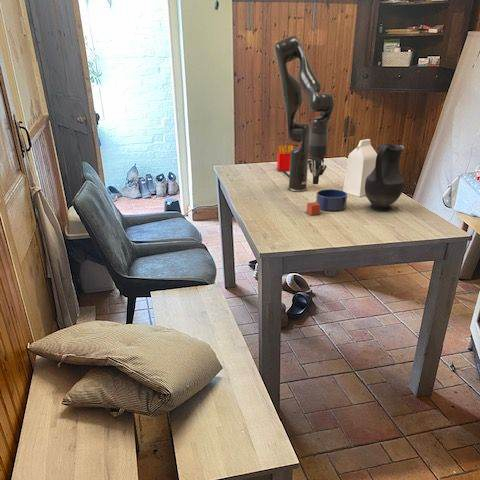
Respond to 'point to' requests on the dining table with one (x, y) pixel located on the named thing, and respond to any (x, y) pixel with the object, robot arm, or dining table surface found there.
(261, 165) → the dining table surface
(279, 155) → the french fries container
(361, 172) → the milk
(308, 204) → the block
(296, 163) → the robot arm
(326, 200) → the bowl
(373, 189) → the pitcher
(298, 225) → the dining table surface
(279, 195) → the dining table surface
